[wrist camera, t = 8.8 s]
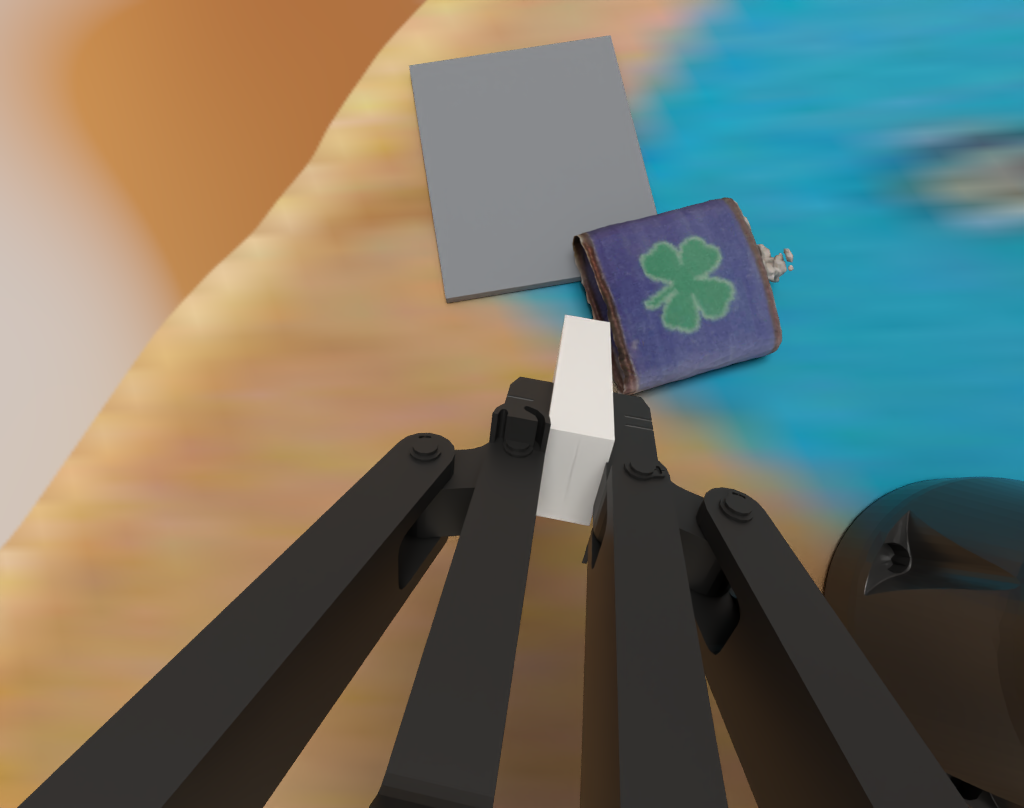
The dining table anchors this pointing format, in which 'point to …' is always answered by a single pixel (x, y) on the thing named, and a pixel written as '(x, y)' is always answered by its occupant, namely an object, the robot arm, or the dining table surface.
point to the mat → (526, 162)
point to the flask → (681, 292)
